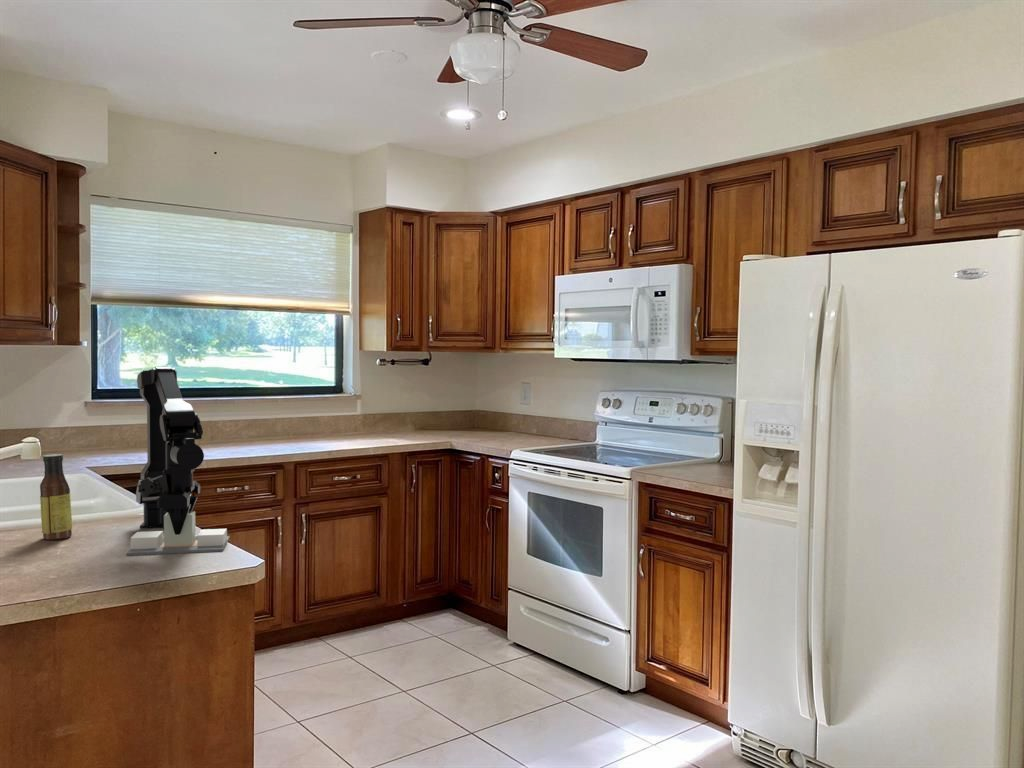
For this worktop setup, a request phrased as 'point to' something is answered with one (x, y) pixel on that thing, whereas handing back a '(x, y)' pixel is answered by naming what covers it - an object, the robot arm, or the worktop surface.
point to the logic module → (186, 534)
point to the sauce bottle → (55, 500)
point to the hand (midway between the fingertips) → (179, 531)
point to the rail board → (155, 545)
